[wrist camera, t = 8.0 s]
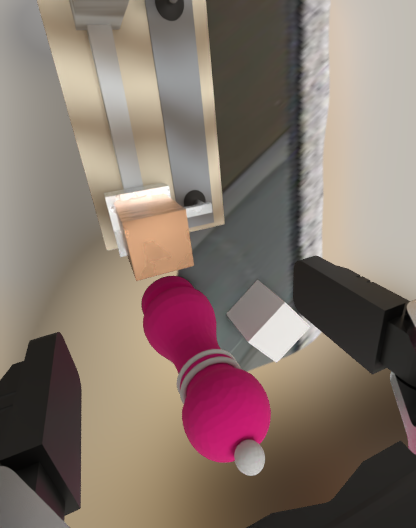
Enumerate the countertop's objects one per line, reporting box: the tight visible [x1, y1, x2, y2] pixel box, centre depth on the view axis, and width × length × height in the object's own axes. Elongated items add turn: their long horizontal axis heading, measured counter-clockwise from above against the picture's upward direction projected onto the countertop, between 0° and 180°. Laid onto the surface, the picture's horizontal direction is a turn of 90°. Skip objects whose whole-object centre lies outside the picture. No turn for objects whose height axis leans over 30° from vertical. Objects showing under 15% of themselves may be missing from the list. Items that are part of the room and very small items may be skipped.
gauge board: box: [37, 0, 224, 251], centre depth 23 cm, size 20×12×8 cm, turn 6°
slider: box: [104, 183, 212, 281], centre depth 23 cm, size 5×8×8 cm, turn 96°
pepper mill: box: [142, 276, 271, 476], centre depth 25 cm, size 7×7×20 cm
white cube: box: [226, 280, 310, 363], centre depth 36 cm, size 6×6×6 cm
